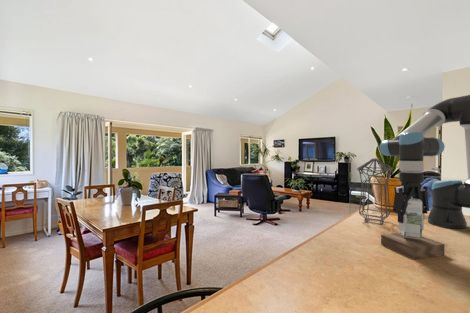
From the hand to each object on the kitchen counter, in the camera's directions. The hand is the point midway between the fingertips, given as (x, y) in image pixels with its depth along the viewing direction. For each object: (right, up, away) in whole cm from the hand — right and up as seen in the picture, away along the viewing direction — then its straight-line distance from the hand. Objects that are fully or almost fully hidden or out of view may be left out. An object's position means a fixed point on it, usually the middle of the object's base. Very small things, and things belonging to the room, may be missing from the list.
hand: (411, 230), depth 90 cm
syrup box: (0, -2, 0) cm, 2 cm away
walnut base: (0, -8, 0) cm, 8 cm away
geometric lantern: (+7, -7, +36) cm, 38 cm away
